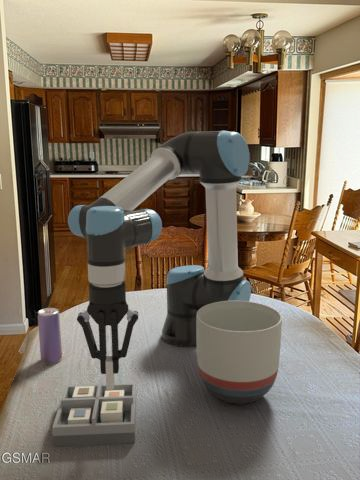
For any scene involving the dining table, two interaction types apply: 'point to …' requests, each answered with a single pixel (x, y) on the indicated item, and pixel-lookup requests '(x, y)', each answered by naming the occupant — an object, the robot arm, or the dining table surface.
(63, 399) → the keypad
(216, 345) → the planter
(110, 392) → the key
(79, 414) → the key
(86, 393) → the key
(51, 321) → the beverage can
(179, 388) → the dining table surface
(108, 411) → the key
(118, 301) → the robot arm
